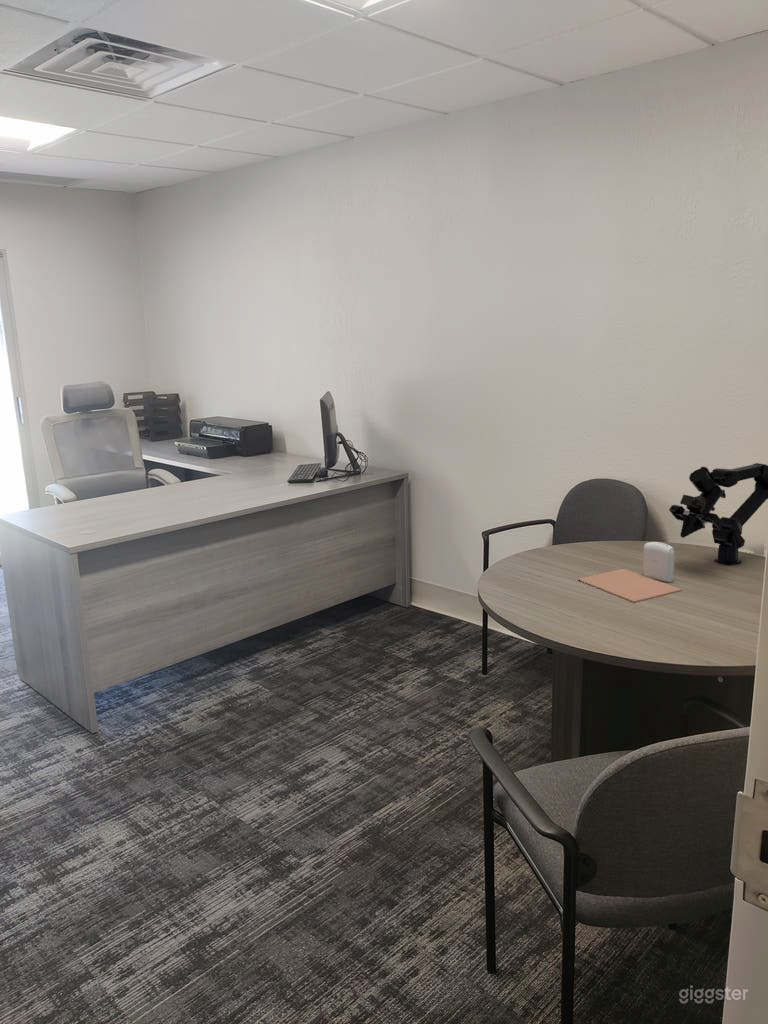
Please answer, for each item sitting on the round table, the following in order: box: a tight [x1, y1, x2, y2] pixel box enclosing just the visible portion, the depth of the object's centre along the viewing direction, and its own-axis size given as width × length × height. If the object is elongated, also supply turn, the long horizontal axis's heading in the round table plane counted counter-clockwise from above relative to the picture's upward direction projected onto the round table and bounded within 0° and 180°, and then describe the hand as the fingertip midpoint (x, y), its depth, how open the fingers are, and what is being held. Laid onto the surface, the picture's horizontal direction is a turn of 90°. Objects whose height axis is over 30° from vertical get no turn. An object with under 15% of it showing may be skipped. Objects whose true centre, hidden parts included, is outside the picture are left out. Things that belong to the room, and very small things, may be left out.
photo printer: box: [642, 541, 675, 583], centre depth 255 cm, size 10×4×12 cm, turn 39°
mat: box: [577, 568, 683, 603], centre depth 251 cm, size 20×26×1 cm
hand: (681, 536), depth 258 cm, fingers closed
